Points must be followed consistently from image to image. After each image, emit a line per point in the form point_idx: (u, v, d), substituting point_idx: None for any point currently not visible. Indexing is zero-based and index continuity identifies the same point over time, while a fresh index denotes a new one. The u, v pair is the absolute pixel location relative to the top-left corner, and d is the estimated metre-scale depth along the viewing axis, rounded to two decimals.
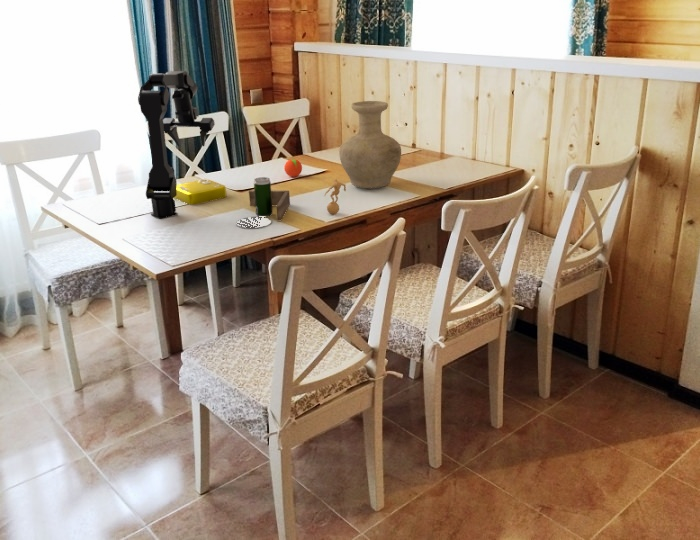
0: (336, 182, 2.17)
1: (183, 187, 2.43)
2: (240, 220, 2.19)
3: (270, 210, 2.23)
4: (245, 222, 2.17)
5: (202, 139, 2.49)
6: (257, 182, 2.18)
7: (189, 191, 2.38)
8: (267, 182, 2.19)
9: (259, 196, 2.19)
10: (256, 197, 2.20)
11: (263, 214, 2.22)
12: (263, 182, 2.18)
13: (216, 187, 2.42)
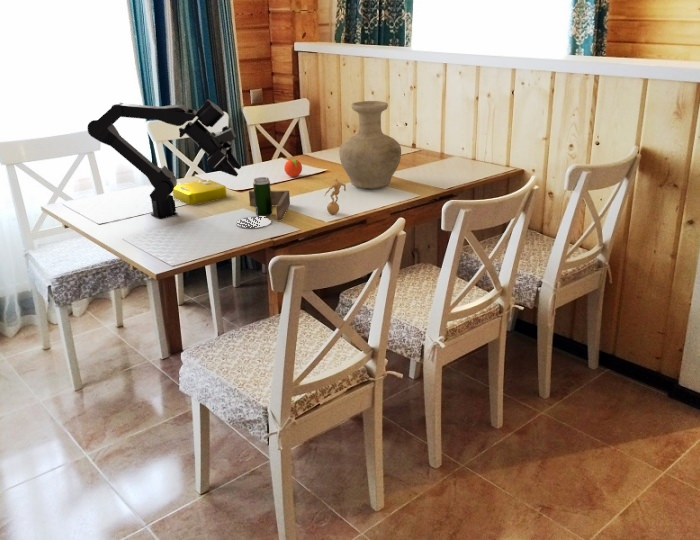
0: (336, 182, 2.17)
1: (183, 187, 2.42)
2: (240, 220, 2.19)
3: (270, 210, 2.23)
4: (245, 222, 2.17)
5: None
6: (256, 182, 2.18)
7: (189, 191, 2.38)
8: (266, 182, 2.19)
9: (259, 196, 2.19)
10: (256, 197, 2.20)
11: (263, 214, 2.22)
12: (262, 182, 2.18)
13: (216, 187, 2.42)
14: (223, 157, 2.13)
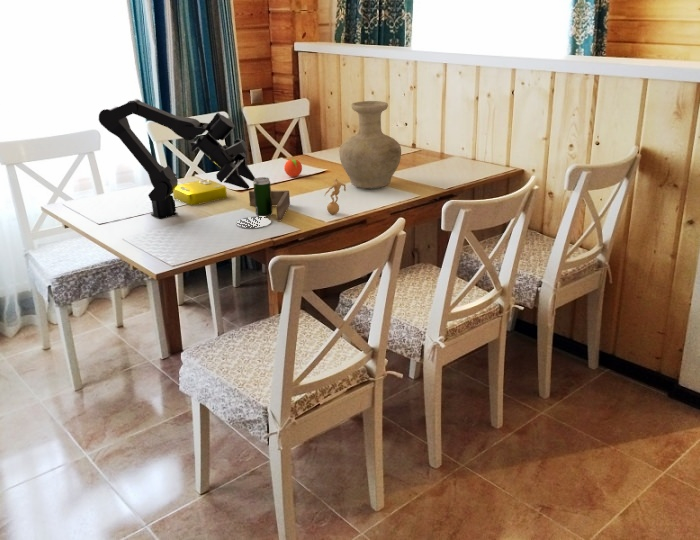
0: (336, 182, 2.17)
1: (184, 187, 2.42)
2: (240, 220, 2.19)
3: (270, 210, 2.23)
4: (245, 222, 2.17)
5: None
6: (257, 182, 2.18)
7: (189, 191, 2.38)
8: (267, 182, 2.19)
9: (259, 196, 2.19)
10: (256, 197, 2.20)
11: (263, 214, 2.22)
12: (263, 182, 2.18)
13: (216, 187, 2.42)
14: (232, 170, 2.11)
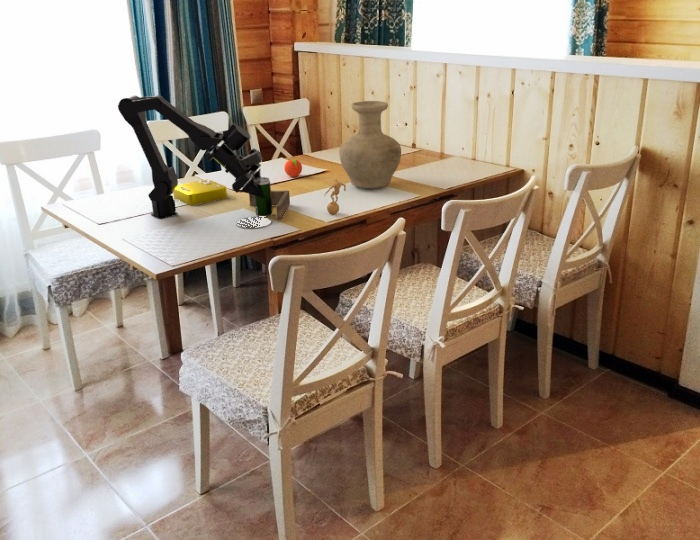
0: (336, 182, 2.17)
1: (184, 187, 2.42)
2: (240, 220, 2.19)
3: (270, 210, 2.23)
4: (245, 222, 2.17)
5: None
6: (256, 182, 2.18)
7: (190, 191, 2.38)
8: (267, 182, 2.19)
9: None
10: (256, 197, 2.20)
11: (263, 214, 2.22)
12: (262, 182, 2.18)
13: (217, 188, 2.42)
14: (249, 179, 2.13)
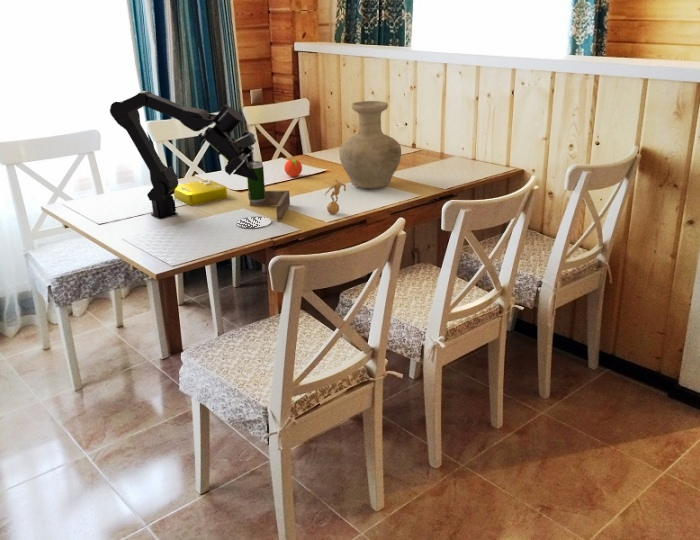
0: (336, 182, 2.17)
1: (184, 188, 2.42)
2: (240, 220, 2.19)
3: (263, 195, 2.18)
4: (245, 222, 2.17)
5: None
6: (249, 166, 2.13)
7: (190, 192, 2.38)
8: (260, 166, 2.14)
9: (252, 180, 2.15)
10: (248, 181, 2.16)
11: (256, 199, 2.17)
12: (256, 166, 2.13)
13: (217, 188, 2.41)
14: (242, 162, 2.09)
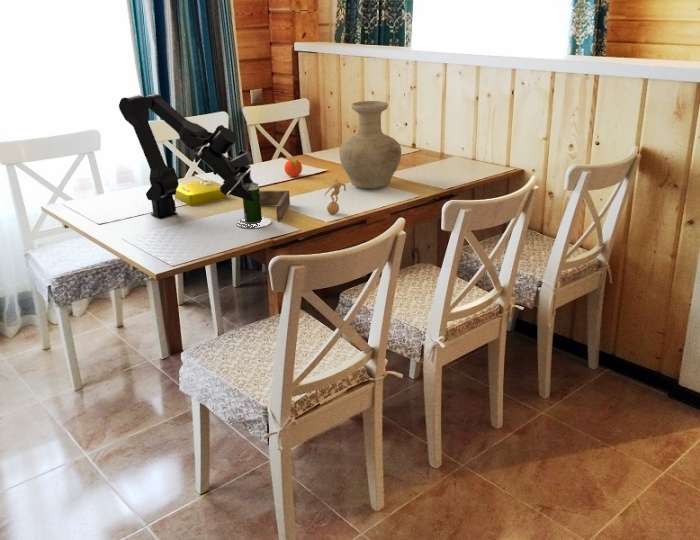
0: (336, 182, 2.17)
1: (184, 188, 2.42)
2: (240, 220, 2.19)
3: (259, 217, 2.15)
4: (245, 222, 2.17)
5: None
6: None
7: (190, 192, 2.37)
8: (255, 188, 2.11)
9: (248, 202, 2.12)
10: (244, 203, 2.13)
11: (252, 221, 2.14)
12: (251, 188, 2.10)
13: (217, 188, 2.41)
14: (237, 182, 2.05)
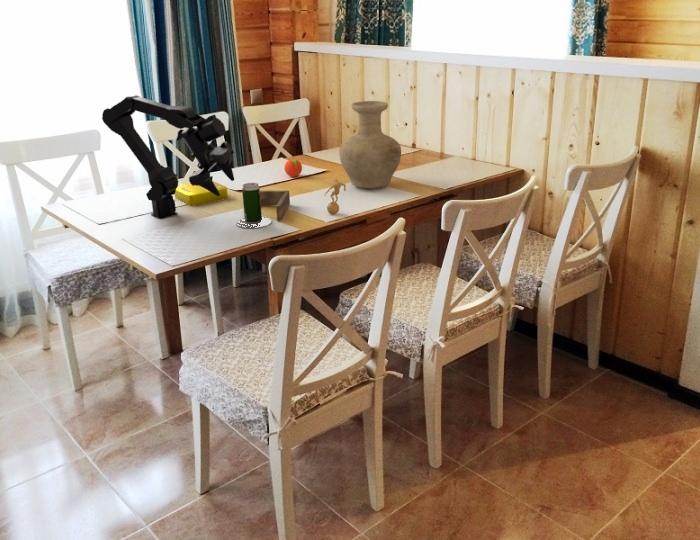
0: (336, 182, 2.17)
1: (185, 188, 2.42)
2: (240, 220, 2.19)
3: (259, 217, 2.15)
4: (245, 222, 2.17)
5: None
6: (245, 188, 2.11)
7: (190, 192, 2.37)
8: (256, 188, 2.11)
9: (248, 202, 2.12)
10: (244, 203, 2.13)
11: (252, 221, 2.14)
12: (251, 188, 2.10)
13: (217, 188, 2.41)
14: None
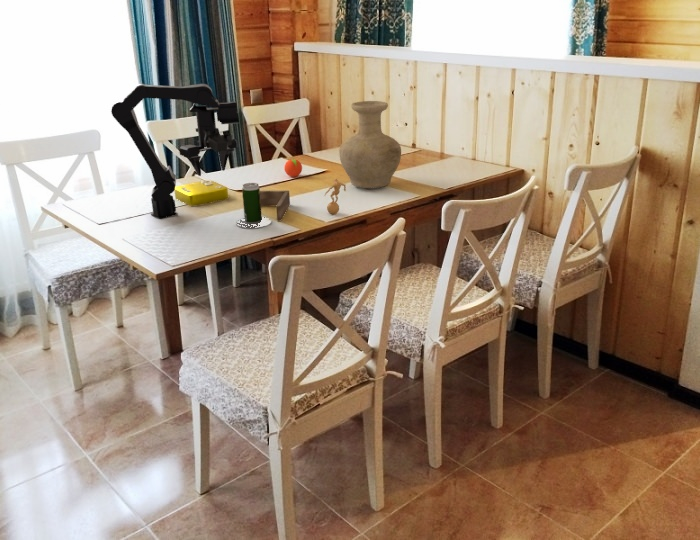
0: (336, 182, 2.17)
1: (185, 188, 2.41)
2: (240, 220, 2.19)
3: (259, 217, 2.15)
4: (245, 222, 2.17)
5: None
6: (245, 188, 2.11)
7: (190, 192, 2.37)
8: (256, 188, 2.11)
9: (248, 202, 2.12)
10: (244, 203, 2.13)
11: (252, 221, 2.14)
12: (251, 188, 2.10)
13: (218, 188, 2.40)
14: None
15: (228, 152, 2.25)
